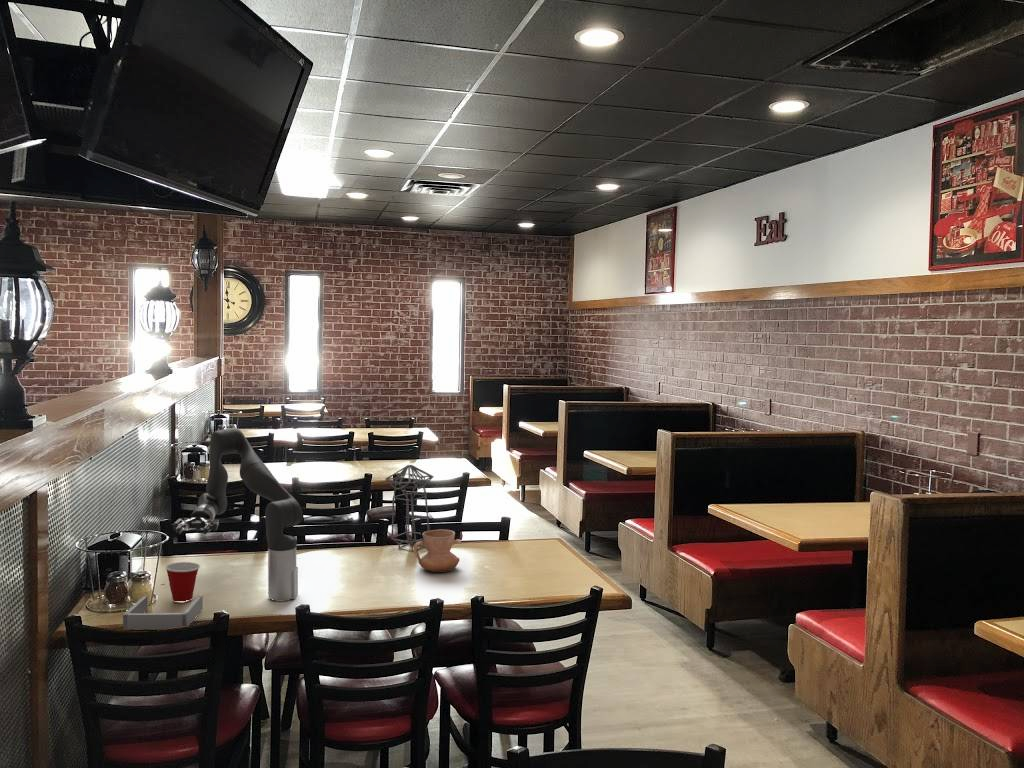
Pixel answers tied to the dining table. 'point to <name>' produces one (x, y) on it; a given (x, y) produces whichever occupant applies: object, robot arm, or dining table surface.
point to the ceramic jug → (438, 551)
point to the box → (159, 616)
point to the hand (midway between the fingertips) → (191, 531)
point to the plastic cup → (182, 579)
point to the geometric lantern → (402, 474)
